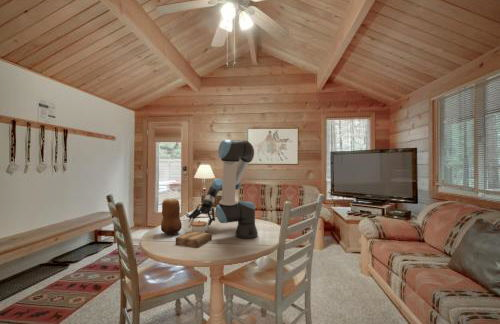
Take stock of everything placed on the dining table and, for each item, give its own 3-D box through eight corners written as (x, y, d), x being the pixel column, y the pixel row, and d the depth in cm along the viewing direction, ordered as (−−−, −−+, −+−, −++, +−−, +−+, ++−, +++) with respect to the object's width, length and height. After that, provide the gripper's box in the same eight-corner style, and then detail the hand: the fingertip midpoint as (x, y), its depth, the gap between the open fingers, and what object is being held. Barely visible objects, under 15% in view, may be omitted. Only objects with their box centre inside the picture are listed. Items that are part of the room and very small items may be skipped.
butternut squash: (174, 230, 189) (174, 196, 189) (185, 233, 180) (185, 198, 180) (156, 234, 178) (156, 198, 178) (167, 238, 170) (167, 200, 169)
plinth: (211, 239, 167) (211, 233, 167) (198, 247, 152) (198, 240, 152) (190, 237, 173) (190, 230, 173) (175, 244, 158) (175, 237, 158)
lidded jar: (203, 236, 173) (203, 222, 173) (188, 236, 175) (188, 222, 175) (209, 232, 184) (209, 219, 184) (195, 231, 186) (195, 218, 186)
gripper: (225, 206, 190) (215, 232, 176) (195, 204, 198) (184, 229, 184) (221, 200, 185) (211, 226, 171) (191, 198, 193) (179, 223, 179)
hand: (197, 228), depth 178 cm, fingers open, 13 cm apart
